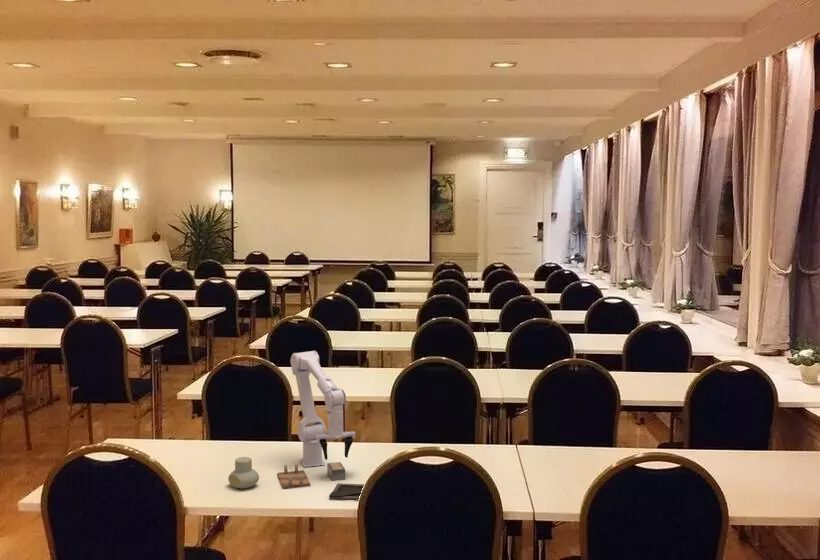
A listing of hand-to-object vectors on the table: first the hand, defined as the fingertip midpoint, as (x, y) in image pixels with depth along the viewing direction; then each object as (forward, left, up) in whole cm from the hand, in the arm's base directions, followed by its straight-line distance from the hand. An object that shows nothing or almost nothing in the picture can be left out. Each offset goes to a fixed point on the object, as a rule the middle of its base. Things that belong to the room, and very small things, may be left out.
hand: (336, 457), depth 297 cm
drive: (0, 0, -7) cm, 7 cm away
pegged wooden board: (0, -16, -7) cm, 17 cm away
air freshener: (0, -34, -7) cm, 35 cm away
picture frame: (+20, +4, -8) cm, 22 cm away
